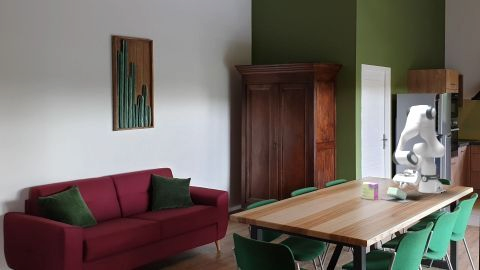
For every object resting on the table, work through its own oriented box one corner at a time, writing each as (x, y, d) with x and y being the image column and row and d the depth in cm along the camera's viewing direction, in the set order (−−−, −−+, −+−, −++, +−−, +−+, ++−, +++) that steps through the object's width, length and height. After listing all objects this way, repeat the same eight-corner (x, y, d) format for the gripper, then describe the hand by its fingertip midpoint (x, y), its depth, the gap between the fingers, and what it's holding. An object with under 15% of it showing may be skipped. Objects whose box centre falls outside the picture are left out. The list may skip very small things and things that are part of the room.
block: (397, 192, 387) (388, 186, 381) (406, 193, 381) (397, 188, 374) (395, 198, 386) (386, 193, 380) (405, 200, 380) (395, 194, 373)
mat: (388, 197, 390) (388, 197, 390) (411, 201, 374) (411, 201, 374) (380, 199, 385) (380, 198, 385) (403, 203, 369) (403, 202, 369)
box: (378, 199, 385) (378, 183, 385) (373, 200, 381) (373, 184, 381) (366, 197, 393) (366, 182, 392) (362, 198, 389) (362, 182, 389)
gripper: (396, 169, 395) (387, 183, 390) (419, 172, 379) (411, 186, 374) (399, 175, 398) (391, 188, 393) (423, 177, 382) (414, 192, 376)
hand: (401, 187), depth 383 cm, fingers closed
